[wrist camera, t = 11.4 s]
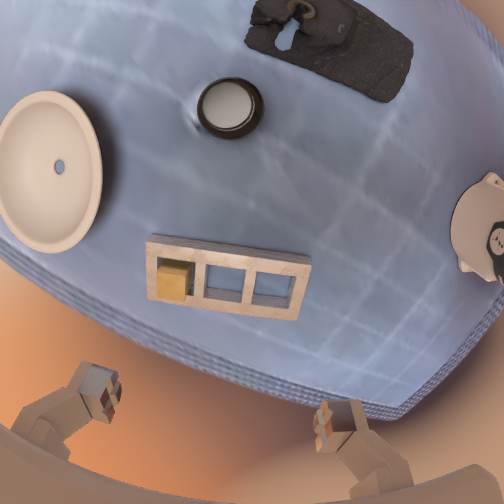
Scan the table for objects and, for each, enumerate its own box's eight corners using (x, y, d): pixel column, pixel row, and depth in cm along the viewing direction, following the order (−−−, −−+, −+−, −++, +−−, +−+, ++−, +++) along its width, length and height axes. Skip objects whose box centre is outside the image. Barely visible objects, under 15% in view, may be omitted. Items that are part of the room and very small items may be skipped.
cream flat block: (308, 256, 42) (311, 265, 39) (294, 309, 46) (296, 320, 43) (152, 233, 41) (145, 241, 38) (153, 288, 45) (147, 299, 42)
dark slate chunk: (378, 122, 34) (393, 122, 29) (233, 43, 30) (230, 32, 26) (418, 45, 28) (434, 39, 23) (285, -32, 24) (287, -47, 20)
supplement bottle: (273, 121, 34) (280, 118, 23) (227, 148, 36) (214, 157, 25) (245, 78, 32) (239, 56, 21) (199, 106, 33) (173, 97, 22)
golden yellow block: (194, 256, 42) (185, 276, 37) (193, 280, 44) (184, 301, 38) (168, 253, 42) (156, 272, 36) (168, 276, 44) (156, 297, 38)
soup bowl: (58, 260, 43) (38, 277, 37) (0, 155, 35) (-24, 163, 29) (153, 186, 38) (135, 198, 32) (80, 61, 29) (55, 55, 23)
